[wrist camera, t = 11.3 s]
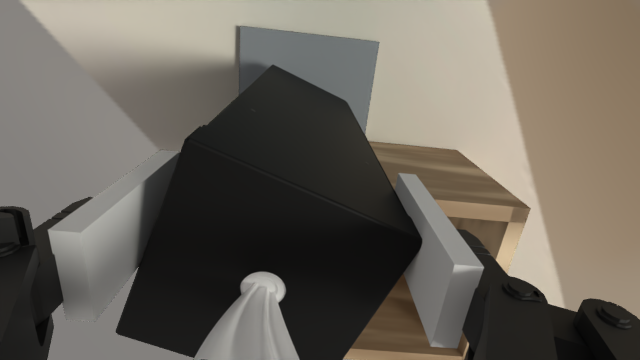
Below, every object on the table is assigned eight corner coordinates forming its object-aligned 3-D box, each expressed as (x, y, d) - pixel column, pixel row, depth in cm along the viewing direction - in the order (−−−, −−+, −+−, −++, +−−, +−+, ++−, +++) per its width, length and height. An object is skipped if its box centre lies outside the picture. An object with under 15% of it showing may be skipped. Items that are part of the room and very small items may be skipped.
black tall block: (311, 169, 37) (319, 500, 11) (240, 137, 35) (50, 433, 9) (347, 100, 34) (470, 320, 8) (272, 62, 32) (128, 185, 7)
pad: (358, 169, 39) (359, 170, 38) (238, 157, 38) (237, 159, 37) (378, 41, 34) (379, 41, 33) (241, 26, 33) (240, 25, 33)
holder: (426, 269, 44) (472, 368, 31) (311, 260, 43) (308, 356, 30) (457, 150, 38) (530, 208, 25) (325, 136, 37) (330, 189, 24)
